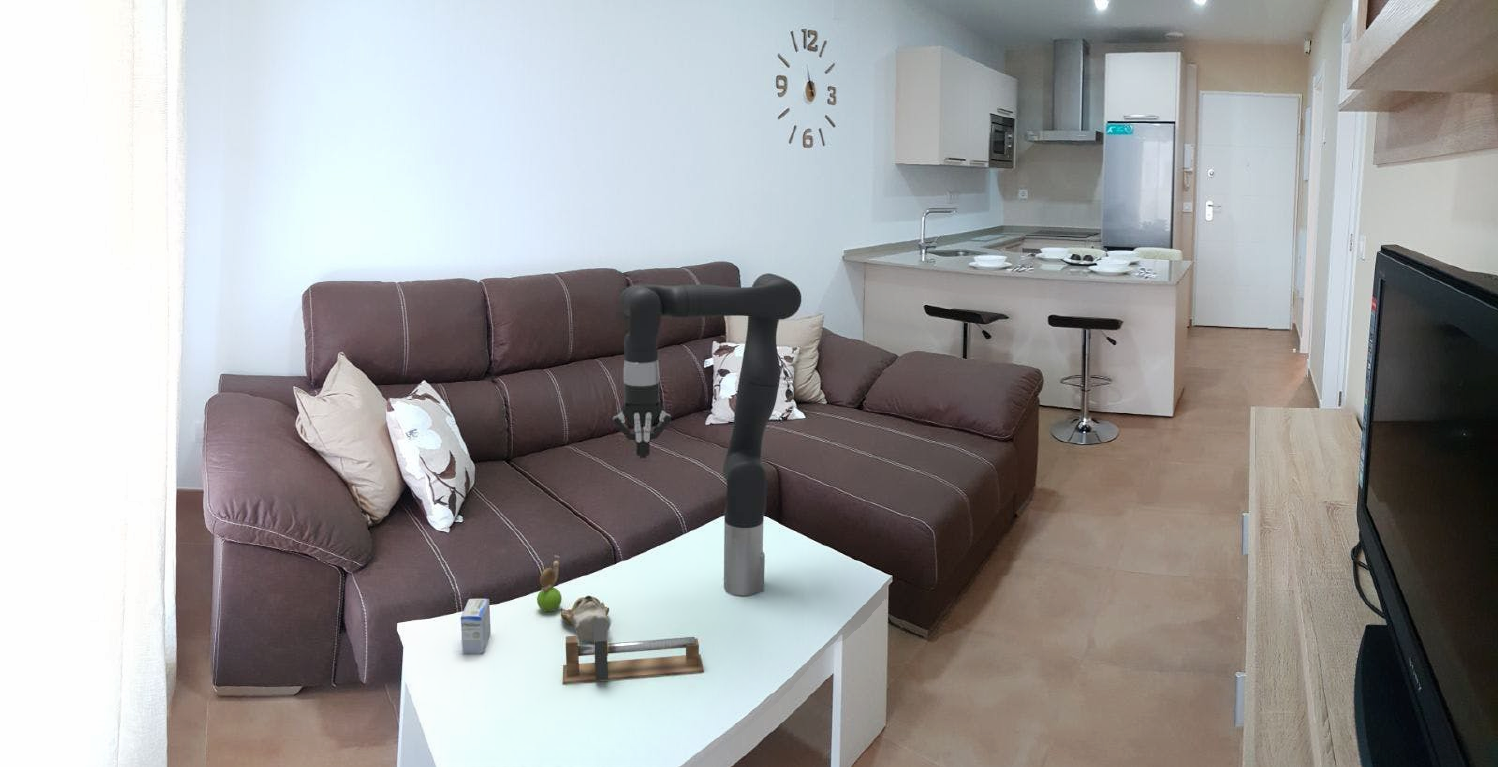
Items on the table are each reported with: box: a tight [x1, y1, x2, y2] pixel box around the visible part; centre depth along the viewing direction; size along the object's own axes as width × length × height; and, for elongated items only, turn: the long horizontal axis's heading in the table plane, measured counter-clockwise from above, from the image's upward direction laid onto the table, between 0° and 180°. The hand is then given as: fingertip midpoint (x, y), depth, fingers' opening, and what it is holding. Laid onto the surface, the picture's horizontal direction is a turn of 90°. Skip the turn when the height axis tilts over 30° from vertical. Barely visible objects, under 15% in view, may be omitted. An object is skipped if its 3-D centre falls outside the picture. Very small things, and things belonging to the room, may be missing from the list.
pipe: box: [578, 636, 696, 657], centre depth 188 cm, size 25×3×3 cm, turn 100°
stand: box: [562, 634, 705, 685], centre depth 189 cm, size 28×6×8 cm, turn 100°
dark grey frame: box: [593, 619, 608, 680], centre depth 187 cm, size 2×8×8 cm, turn 10°
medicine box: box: [460, 598, 491, 655], centre depth 197 cm, size 8×4×9 cm, turn 5°
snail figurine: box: [536, 555, 562, 612], centre depth 212 cm, size 5×6×12 cm
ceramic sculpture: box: [560, 595, 611, 643], centre depth 204 cm, size 11×9×15 cm
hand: (642, 457), depth 204 cm, fingers closed
